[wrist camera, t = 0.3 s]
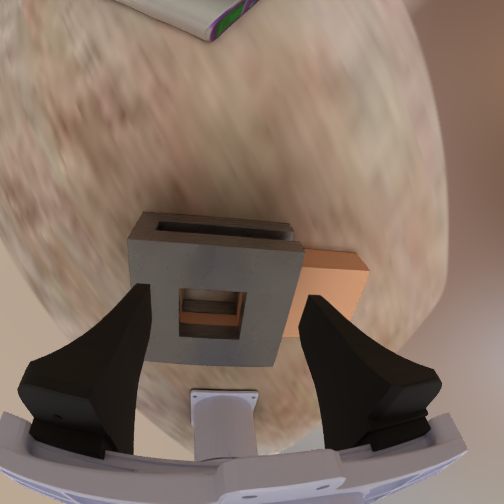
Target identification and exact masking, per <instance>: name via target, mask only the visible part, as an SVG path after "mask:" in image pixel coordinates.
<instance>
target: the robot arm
mask: <svg viewBox="0 0 504 504" xmlns="http://www.w3.org/2000/svg"><path fill="white" fill-rule="evenodd" d="M151 325H152V307H151V290H150V284H142V283H137V284H135V285H134V286H133V288H132V289H131V290H130V291H129V292H128V293H127V294H126V296H125V297H124V298H123V299H122V300H121V301H120V302H119V303H118V304H117V305H116V306H115V307H114V308H113V309H112V310H111V311H110V312H109V313H108V314H107V315H106V316H105V317H104V318H103V319H102V320H101V321H100V322H99V323H97V324H96V325H95V326H94V327H93V328H91V329H90V330H89V331H88V332H86V333H85V334H84V335H82V336H80V337H79V338H77V339H76V340H74V341H73V342H71V343H70V344H68V345H66V346H64V347H63V348H61V349H59V350H57V351H55V352H53V353H51V354H49V355H47V356H44V357H41V358H39V359H37V360H34V361H31V362H30V363H29V365H28V367H27V369H26V370H25V373H24V375H23V377H22V380H21V382H20V384H19V387H18V394H19V397H20V398H21V400H22V402H23V403H24V404H25V406H26V407H27V409H28V410H29V411H30V413H31V414H32V415H33V417H34V419H33V422H32V424H31V423H30V422H28V421H27V420H25V419H23V418H20V417H18V416H15V415H12V414H10V413H8V412H3V414H2V417H1V420H0V471H1V472H2V473H4V474H5V475H6V476H8V477H9V478H10V479H12V480H13V481H15V482H16V483H18V484H19V485H22V486H24V487H26V488H28V489H31V490H33V491H35V492H38V493H40V494H43V495H45V496H47V497H50V498H53V499H55V500H58V501H61V502H64V503H66V504H369V503H371V502H374V501H377V500H380V499H382V498H385V497H387V496H389V495H392V494H394V493H396V492H399V491H401V490H404V489H406V488H408V487H410V486H412V485H415V484H417V483H419V482H421V481H423V480H425V479H427V478H429V477H432V476H434V475H436V474H437V473H439V472H440V471H442V470H443V469H445V468H446V467H447V466H449V465H450V464H452V463H453V462H454V461H456V460H457V459H458V458H460V457H461V456H462V455H463V454H465V453H466V452H467V451H468V448H467V446H466V444H465V442H464V440H463V438H462V436H461V434H460V432H459V430H458V429H457V427H456V425H455V423H454V421H453V419H452V418H451V416H450V414H449V413H445V414H442V415H439V416H437V417H434V418H432V419H431V420H429V421H427V419H426V417H425V416H427V415H428V412H427V410H426V407H427V406H428V405H429V404H430V402H431V401H432V400H433V399H434V398H435V397H436V396H437V394H438V393H439V391H440V389H441V387H442V382H441V380H440V379H439V377H438V375H437V374H436V372H435V371H434V369H431V368H428V367H425V366H423V365H419V364H417V363H414V362H412V361H410V360H408V359H405V358H403V357H401V356H399V355H397V354H395V353H394V352H392V351H390V350H388V349H386V348H385V347H383V346H382V345H380V344H379V343H377V342H376V341H374V340H373V339H371V338H370V337H368V336H367V335H366V334H364V333H363V332H362V331H361V330H359V329H358V328H357V327H356V326H355V325H353V324H352V323H351V322H350V321H349V320H348V319H347V318H345V317H344V316H343V315H342V314H341V313H340V312H339V311H338V310H337V309H336V308H335V307H333V306H332V305H331V304H330V303H329V302H328V301H327V300H326V299H325V298H324V297H322V296H321V295H308V298H307V301H306V304H305V307H304V310H303V313H302V316H301V319H300V322H299V325H298V330H299V336H300V341H301V346H302V349H303V352H304V355H305V358H306V361H307V363H308V366H309V369H310V372H311V375H312V378H313V381H314V384H315V388H316V392H317V397H318V402H319V407H320V413H321V419H322V426H323V434H324V442H325V449H318V450H311V451H304V452H296V453H287V454H275V455H261V456H258V450H257V443H256V437H255V430H254V423H253V416H252V414H253V411H254V408H255V405H256V402H257V398H258V392H257V391H213V390H192V391H191V425H192V426H193V427H194V458H195V459H194V460H195V461H182V460H169V459H159V458H150V457H142V456H135V455H133V452H134V447H133V445H134V443H133V442H134V421H135V409H136V398H137V389H138V383H139V377H140V373H141V369H142V365H143V362H144V358H145V354H146V350H147V346H148V342H149V339H150V332H151Z"/></svg>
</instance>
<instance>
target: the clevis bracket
mask: <svg viewBox="0 0 504 504" xmlns="http://www.w3.org/2000/svg"><path fill="white" fill-rule="evenodd" d="M293 236H294V231H293V229H292V227H291V225H290V224H285V223H275V222H265V221H255V220H244V219H232V218H221V217H209V216H196V215H183V214H169V213H154V212H143V213H142V215H141V216H140V218H139V220H138V221H137V223H136V225H135V227H134V228H133V230H132V232H131V233H130V235H129V237H128V239H127V243H128V259H129V272H130V283H131V289H132V288H133V286H134V285H135V284H137V283H142V284H150V290H151V307H152V325H151V332H150V339H149V342H148V346H147V350H146V354H145V358H144V361H153V362H163V363H175V364H189V365H206V366H236V367H273V365H274V362H275V358H276V355H277V352H278V349H279V345H280V342H281V339H282V336H283V332H284V329H285V325H286V322H287V319H288V315H289V312H290V308H291V305H292V301H293V298H294V294H295V290H296V287H297V283H298V280H299V276H300V272H301V268H302V265H303V261H304V257H305V253H306V252H305V251H304V249H303V247H302V245H301V243H300V242H296V241H292V240H293ZM180 288H182V312H195V313H210V314H229V315H236V314H237V307H238V301H239V294H240V292H243V296H242V302H241V309H240V315H239V321H238V326H218V325H201V324H186V323H180ZM183 288H188V289H202V290H218V291H234V292H237V293H236V300H235V303H229V302H212V301H196V300H183Z"/></svg>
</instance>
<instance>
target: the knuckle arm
mask: <svg viewBox="0 0 504 504" xmlns="http://www.w3.org/2000/svg"><path fill="white" fill-rule="evenodd" d="M304 251H305V252H306V253H305V257H304V261H303V265H302V268H301V272H300V276H299V280H298V283H297V287H296V290H295V294H294V298H293V301H292V305H291V308H290V312H289V315H288V319H287V322H286V325H285V329H284V332H283V336H282V337H300V336H299V330H298V325H299V322H300V319H301V316H302V313H303V310H304V307H305V304H306V301H307V298H308V295H321V296H322V297H324V298H325V299H326V300H327V301H328V302H329V303H330V304H331V305H332V306H333V307H335V308H336V309H337V310H338V311H339V312H340V313H341V314H342V315H343V316H344V317H345V318H347V319H348V320H349V321H350V320H351V318H352V315H353V313H354V311H355V308H356V306H357V303H358V301H359V299H360V296H361V294H362V291H363V289H364V286H365V284H366V281H367V279H368V276H369V273H370V270H369V269H368V267H367V266H366V265H365V264H364V262H363V261H362V260H361V259H360V257H359V256H358V255H357V254H356V253H349V252H337V251H325V250H313V249H304ZM242 296H243V292H240V294H239V301H238V307H237V314H236V315H229V314H210V313H195V312H182V288H180V323H186V324H201V325H218V326H238V321H239V315H240V309H241V302H242Z"/></svg>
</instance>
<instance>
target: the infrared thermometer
mask: <svg viewBox="0 0 504 504" xmlns="http://www.w3.org/2000/svg"><path fill="white" fill-rule="evenodd" d="M116 1H118V2H120V3H123V4H125V5H127V6H129V7H131V8H134V9H136V10H138V11H140V12H142V13H144V14H146V15H148V16H150V17H152V18H155V19H157V20H160V21H162V22H165V23H167V24H170V25H172V26H174V27H177V28H179V29H181V30H184V31H186V32H188V33H190V34H192V35H195V36H197V37H199V38H201V39H203V40H205V41H210V42H212V41H214V40H215V39H217V38H218V37H219V36H220V35H221V34H222V33H223V32H224V31H225V30H226V29H227V28H229V27H230V26H231V25H232V24H233V23H234V22H235V21H236V20H238V19H239V18H240V17H241V16H242V15H243V14H244V13H246V12H247V11H248V10H249V9H250V8H251V7H252V6H253V5H254V4H255V3H256V2H258V1H259V0H116Z"/></svg>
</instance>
